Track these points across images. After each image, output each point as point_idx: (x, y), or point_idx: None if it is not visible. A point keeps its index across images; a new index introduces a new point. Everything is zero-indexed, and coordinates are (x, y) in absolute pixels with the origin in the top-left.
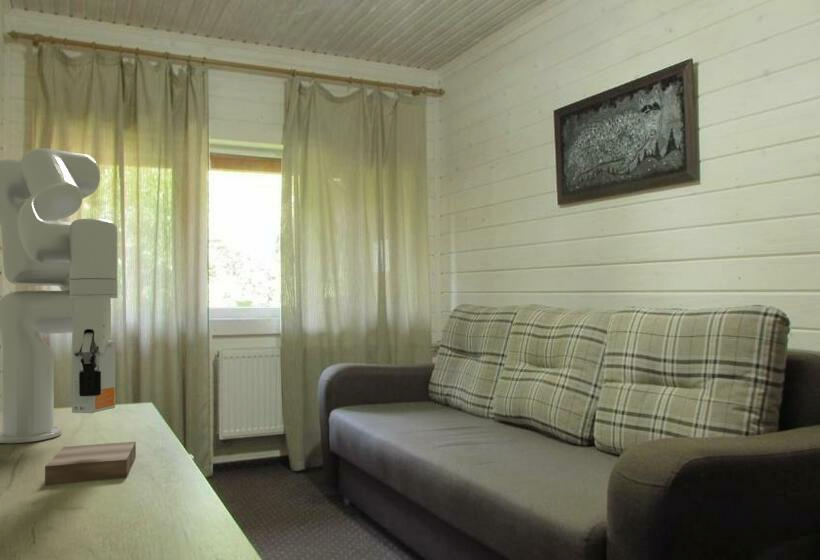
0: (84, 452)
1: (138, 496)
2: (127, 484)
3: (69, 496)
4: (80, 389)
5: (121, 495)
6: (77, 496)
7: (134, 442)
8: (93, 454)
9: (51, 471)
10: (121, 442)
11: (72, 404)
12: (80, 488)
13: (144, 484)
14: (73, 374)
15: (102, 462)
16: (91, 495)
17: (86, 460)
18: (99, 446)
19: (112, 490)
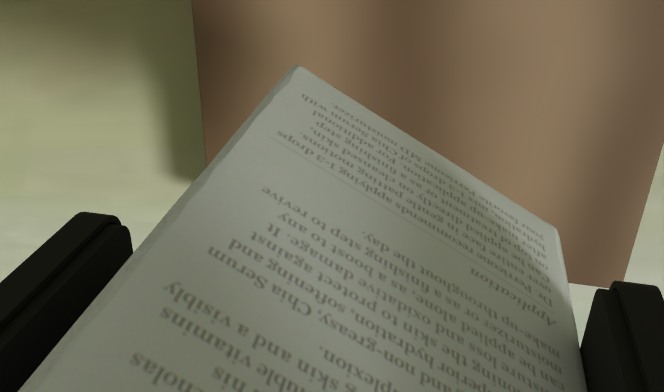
0: (456, 43)
1: (11, 221)
2: (151, 195)
3: (34, 5)
4: (49, 251)
5: (26, 176)
6: (31, 35)
7: (592, 283)
8: (379, 95)
9: None
10: (637, 226)
11: (268, 93)
12: (134, 34)
13: (139, 244)
14: (112, 287)
15: (205, 141)
16: (37, 83)
17: (246, 71)
18: (589, 115)
19: (86, 149)
